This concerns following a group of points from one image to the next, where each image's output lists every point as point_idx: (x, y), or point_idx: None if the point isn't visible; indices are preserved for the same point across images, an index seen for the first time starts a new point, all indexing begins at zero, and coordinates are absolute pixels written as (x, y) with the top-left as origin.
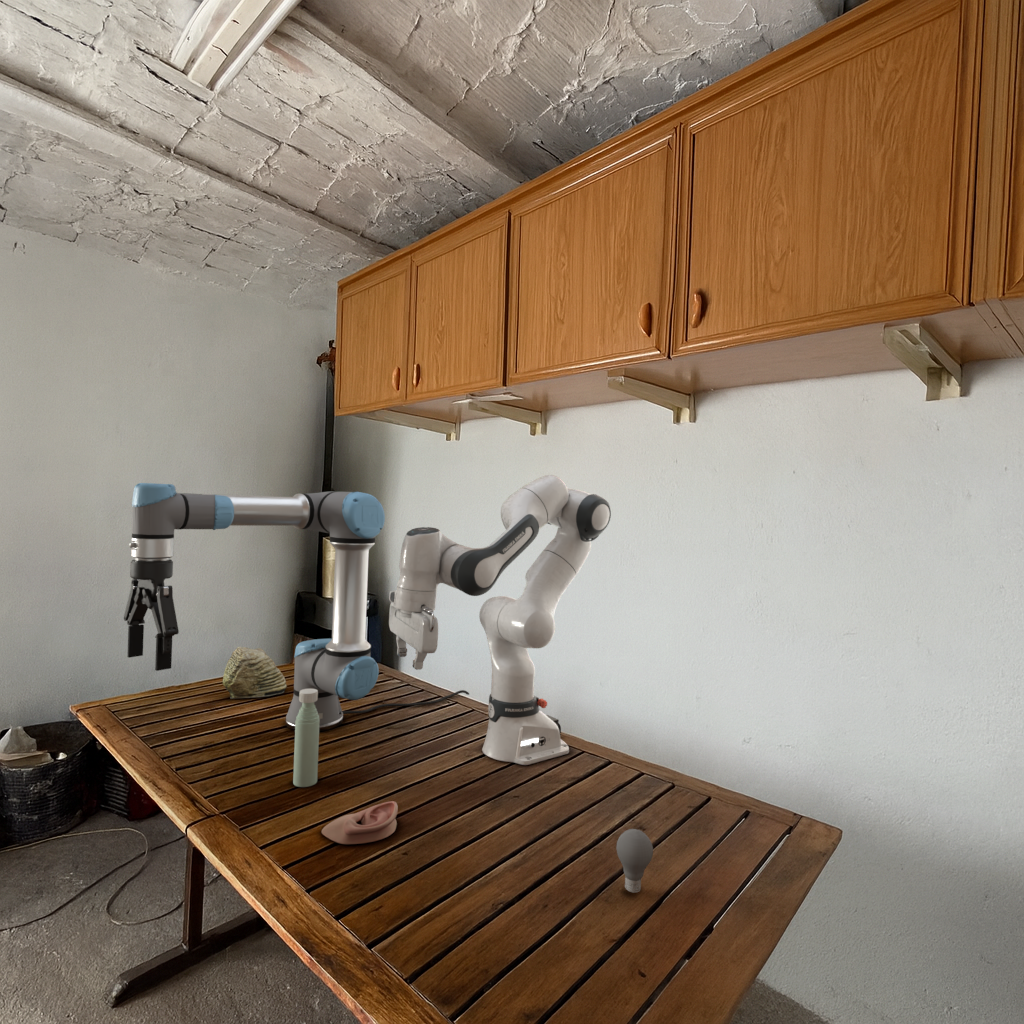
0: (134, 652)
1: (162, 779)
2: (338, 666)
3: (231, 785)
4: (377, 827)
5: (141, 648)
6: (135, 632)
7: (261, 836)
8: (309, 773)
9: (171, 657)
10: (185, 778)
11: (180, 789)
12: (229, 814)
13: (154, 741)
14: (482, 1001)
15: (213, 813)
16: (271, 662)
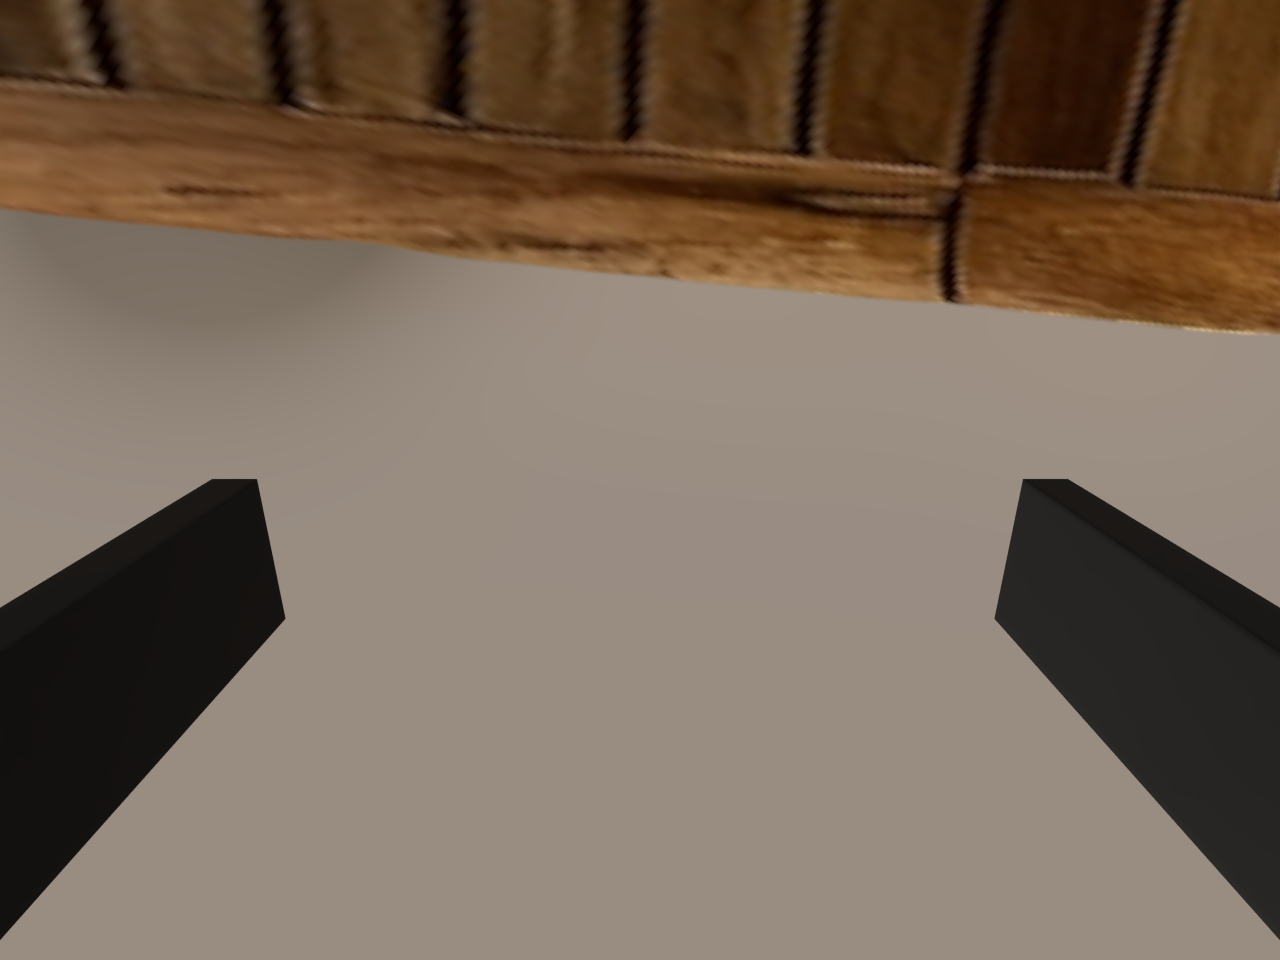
0: (248, 593)
1: (517, 203)
2: None
3: (781, 6)
4: None
5: (210, 536)
6: (36, 784)
7: (1233, 154)
8: None
9: (1154, 533)
10: (571, 127)
11: (659, 192)
12: (1000, 154)
13: (29, 35)
14: None
15: (943, 195)
16: None
